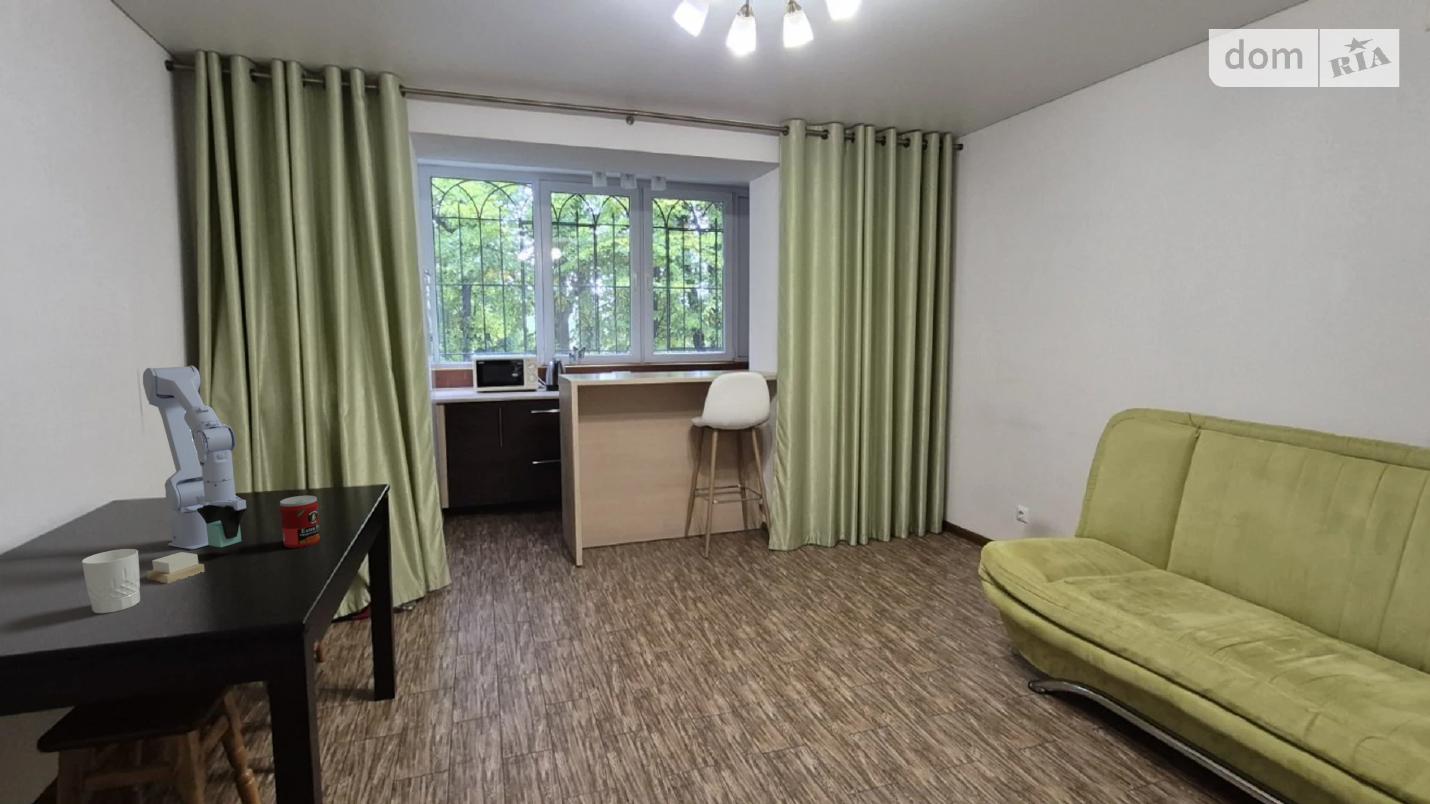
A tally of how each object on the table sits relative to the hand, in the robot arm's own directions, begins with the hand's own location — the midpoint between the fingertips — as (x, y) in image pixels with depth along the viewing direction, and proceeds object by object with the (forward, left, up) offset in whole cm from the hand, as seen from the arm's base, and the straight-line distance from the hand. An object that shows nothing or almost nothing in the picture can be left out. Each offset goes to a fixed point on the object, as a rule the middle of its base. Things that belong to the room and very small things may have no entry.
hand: (224, 536), depth 152 cm
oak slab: (+3, -12, -5) cm, 13 cm away
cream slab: (+3, -12, -3) cm, 13 cm away
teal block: (0, 0, -2) cm, 2 cm away
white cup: (+10, -26, -5) cm, 28 cm away
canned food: (+9, +12, -5) cm, 16 cm away
